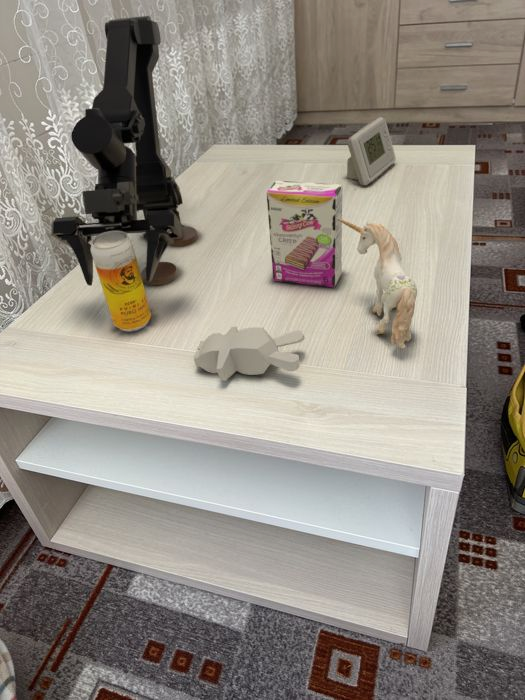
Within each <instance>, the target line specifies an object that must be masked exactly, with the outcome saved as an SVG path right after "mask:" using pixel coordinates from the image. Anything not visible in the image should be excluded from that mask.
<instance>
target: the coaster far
mask: <svg viewBox="0 0 525 700" xmlns="http://www.w3.org/2000/svg"><path fill="white" fill-rule="evenodd" d="M198 237H199V236H198V230H197V229H196V228H195V227H192V226H187V225H184V226H183V227H182V237H181V238H177V239H173V240H174V243H173V244H169V245H168V246H170V247H176V248H177V247H178V248H179V247H185V246H189V245H192V244H193V243H195V242H196V241H197V240H198Z"/></svg>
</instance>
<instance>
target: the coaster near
mask: <svg viewBox="0 0 525 700" xmlns="http://www.w3.org/2000/svg"><path fill="white" fill-rule="evenodd" d="M140 274H141V278H142V282H143V284H145V285H147V286H154V287H157V286H163V285H167V284H170V283H171V282H173V281H174V280H176V278H177V277H178V269H177V266H176V264H175V263H172V262H170V261H159V263H158V265H157V268H156V270H155V273H154V275H153V278H152V280H151V282H148V281H147V279H146V266H145V267H144V268H143V269H142V270H141V271H140Z"/></svg>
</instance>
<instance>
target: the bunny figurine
mask: <svg viewBox="0 0 525 700" xmlns="http://www.w3.org/2000/svg"><path fill="white" fill-rule="evenodd" d="M304 340H305V334H304V332H303V331H302V330H299V329H297V330H293V331H290V332H288V333H284V334H282V335H279V336H276V337H274V338H273V336H271V335H270V334H269V333H268V331H266V330H265V328H264V327H258V326H257V327H256V326H254V327H245V328H241V329H240V330H238V327H237V325H234V326H231V327H229V330H228V331H227V332H226V334H224V335H223V334H221V333H220V332H215V333H211V334H210V335H208V336H207V337H206V338H205V340H204V341H203V340H201V341H200V342H199V343H198V346H197V351H195V354H194V356H193V362H194V364H195V366H196V368H201V369H203V370H204V371H206V372H207V373H211V374H217V375H218V378H219V380H220V381H227V380H228V379H229V378H230V377H231V376H233V375H234V374H235V373H236V372H238V373H240V374H242V375H248V376H255V375H256V376H257V375H263V374H264V373H265V372H266V371H267V370H268V368H269V367H270V366H271V365H272V366H274V367H277V368H279V369H282V370H284V371H287V372H292V373H293V372H295V371H298V369H299V368H300V367H301V365H300V363H301V362H300V356H299V355H298V354H296V353H291V352H286V351H279V348H280V347H284V346H289V345H294V344H298V343H302V342H303V341H304Z"/></svg>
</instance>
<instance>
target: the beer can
mask: <svg viewBox="0 0 525 700" xmlns="http://www.w3.org/2000/svg"><path fill="white" fill-rule="evenodd" d="M133 243H134V242H133V240H132V239H131V238H130V237H129V235H128V234H126V233H125V232H123V231H108V232H104V233H101V234H99V235H97V236H93V238H91V240H90V245H91V249H90V250H91V254H92V257H93V264H94V266H95V270H96V272H97V276H98V279H99V282H100V285H101V288H102V291H103V295H104V298H105V301H106V304H107V307H108V311H109V313H110V317H111V320H112V323H113V325H114V326H115V327H116V328H118V329H119V330H121V331H123V332H135V331H139V330H142V328H145V327H146V326H147V325H148V323H149V321H150V319H151V317H152V312H151V308H150V305H149V301H148V298H147V294H146V290H145V286H144V282H143V280H142V276H141V270H140V266H139V263H138V259H137V255H136V251H135V247H134V244H133Z"/></svg>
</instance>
